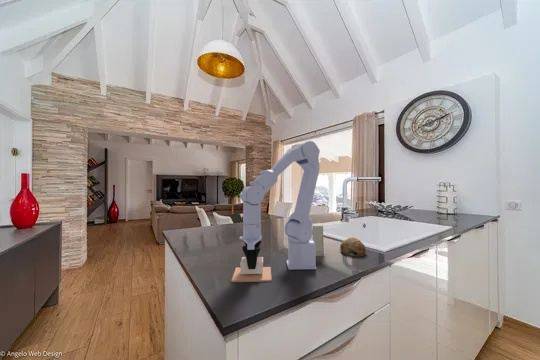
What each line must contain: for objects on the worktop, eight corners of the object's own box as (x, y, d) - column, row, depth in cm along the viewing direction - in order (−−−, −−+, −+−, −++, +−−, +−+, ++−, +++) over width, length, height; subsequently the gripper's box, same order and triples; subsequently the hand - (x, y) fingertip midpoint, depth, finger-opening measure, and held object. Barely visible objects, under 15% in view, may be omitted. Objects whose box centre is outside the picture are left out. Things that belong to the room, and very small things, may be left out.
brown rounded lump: (341, 263, 90) (342, 248, 87) (338, 245, 99) (339, 231, 96) (366, 264, 88) (369, 249, 85) (361, 246, 98) (362, 232, 94)
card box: (242, 267, 73) (242, 256, 73) (263, 267, 73) (263, 256, 73) (240, 273, 68) (240, 262, 68) (262, 273, 68) (262, 262, 68)
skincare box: (324, 257, 87) (323, 226, 87) (312, 256, 88) (312, 225, 88) (323, 252, 93) (323, 223, 93) (312, 251, 94) (312, 223, 94)
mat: (270, 268, 76) (270, 266, 76) (271, 281, 66) (271, 279, 66) (235, 268, 76) (235, 267, 76) (231, 282, 66) (231, 280, 66)
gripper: (242, 219, 78) (242, 257, 78) (236, 228, 64) (237, 275, 63) (261, 219, 78) (262, 257, 78) (261, 227, 64) (261, 274, 64)
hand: (252, 265), depth 71 cm, fingers closed on card box, 5 cm apart
